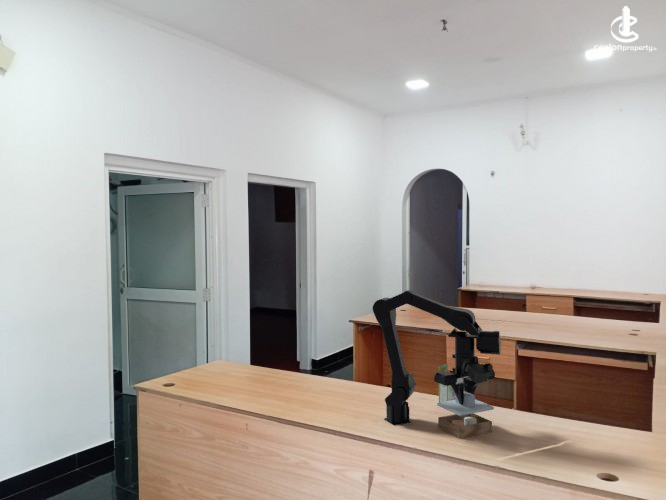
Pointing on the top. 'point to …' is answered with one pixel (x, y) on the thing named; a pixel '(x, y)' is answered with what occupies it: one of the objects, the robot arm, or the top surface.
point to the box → (464, 431)
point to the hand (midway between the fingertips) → (465, 403)
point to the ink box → (446, 389)
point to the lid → (465, 405)
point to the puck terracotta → (458, 423)
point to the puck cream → (469, 421)
